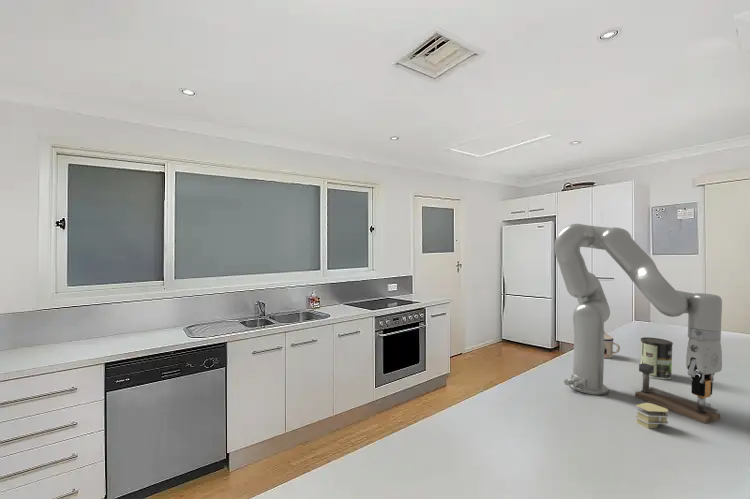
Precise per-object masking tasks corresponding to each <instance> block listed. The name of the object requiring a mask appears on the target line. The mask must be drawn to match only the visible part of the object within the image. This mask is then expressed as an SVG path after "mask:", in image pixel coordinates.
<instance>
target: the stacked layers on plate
mask: <svg viewBox="0 0 750 499" xmlns="http://www.w3.org/2000/svg"><path fill="white" fill-rule="evenodd" d="M635 406H636V407H639V408H636V409H635V411H636V413H637V415H636V416H635V418H636V423H637V424H638V425H640V426H642V427H644V428H646V429H648V428H649V429H655V428H658V426H659V425H668V424H669V422H668V417H669V414H668V413H667V412H669V409H666V408H663V407H661V406H658V405H656V404H653V403H650V402H643V403H639V404H636V405H635Z"/></svg>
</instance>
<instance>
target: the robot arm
mask: <svg viewBox="0 0 750 499" xmlns="http://www.w3.org/2000/svg"><path fill="white" fill-rule="evenodd" d="M581 248H589V249H596V250H602V251H603V250H604V251H606V253H607V254H608V255H609V256H610V257H611V258H612V259H613V260H614V261H615V263H616V264H618V266H620V268H621V269H622V270H623V271H624V272H625V274H626V275H627V276H628V277H629V279H630V280H631V281H632V282H633V283H634V285H635V286H636V287H637V288H638V290H639V291H640V293H641V294H643V296H644V297H645V298H646V299H647V300H648V301H649V302H650V303H651V305H653V307H654V308H655V309H656V310H658V312H659V313H660V314H661V315H662V314H663V315H664V316H666V317H671V318H675V317H680V316H682V315H684V314H688V316H687V319H688V320H687V321H688V322H687V338H688V343H687V349H686V355H685V356H686V358H685V359H686V360H685V366H686V369H687V375H688V376H690V381H691V390H690V391H691V394H692V395H694V394H696V395H695V396H697V395H699V396H702V397H704V396H705V383H704V378H705V379H708V380H711V395H713V384H714V382H713V381H714V379H715V378H714V375H715V374H717V373H719V372H722V370H723V354H722V353H723V352H722V351H723V350H722V344H721V338H722V313H723V311H722V310H723V300H722V297H721V296H720V295H717V294H712V293H701V292H699V293H697V292H695V293H693V292H687V291H682V290H676V289H675V288H674V287H673V286H672V284H670V283H669V282H668V280H666V279H665V277H664V276H663V275H662V273H661V272H660V271H659V269H658V266H657V265H656V263H655V262H654V260H653V259H652V258H651V256H649V254H647V252H645V251H644V249H643V248H641V247H640V245H638V244H637V243H636V241H635V240H634V239H633V238H632V235H631V233H630V232H629V231H628V230H626V229H624V228H621V227H605V226H596V225H587V224H582V223H572V224H570V225H567V226H565V227H564V228H563V229H562V230H560V232H559V233H558V235H557V236H556V238H555V241H554V254H555V258H556V260H557V263H558V266H559V269H560V273H561V275H562V278H563V281H564V285H565V288H566V291H567V292H568V294H569V295H570V296H572V297H573V298H576V299H577V303H578V305H576V307H575V308H574V311H573V313H572V314H573V315H572V320H573V322H572V323H573V359H572V360H573V362H572V363H573V366H572V374H570V375H571V377H570V378H567V379H564V381H563V383H564V385H566V386H568V387H569V388H571V389H572V390H574V391H577V392H579V393H583V394H588V395H595V396H601V395H602V396H603V395H606V394H608V392H609V388H608V387H607V385H605V384H604V365H605V363H604V361H605V358H604V331H605V323H606V322H607V321H608V319H609V318H610V315H611V309H610V305H609V303H608V300H607V297H606V294H605V292H604V289H603V286H602V284H601V282H600V280H599V278H598V277H597V276H596V274H594V273H592V272H590V271H588V267H587V265H586V262H585V259H584V257H583V255H582V253H581ZM711 395H710V396H711Z"/></svg>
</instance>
